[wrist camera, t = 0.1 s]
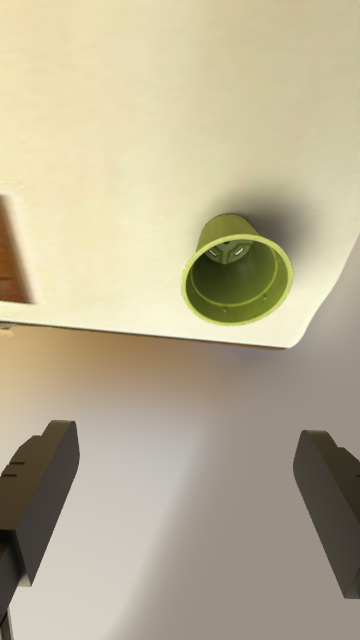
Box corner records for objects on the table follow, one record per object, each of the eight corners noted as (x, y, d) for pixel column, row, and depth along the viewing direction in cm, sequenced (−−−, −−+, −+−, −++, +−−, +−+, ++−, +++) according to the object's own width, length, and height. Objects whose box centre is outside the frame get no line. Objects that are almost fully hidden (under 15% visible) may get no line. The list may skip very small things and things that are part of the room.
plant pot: (286, 207, 35) (316, 252, 27) (247, 282, 43) (261, 334, 35) (197, 180, 33) (200, 221, 25) (173, 264, 41) (169, 315, 33)
